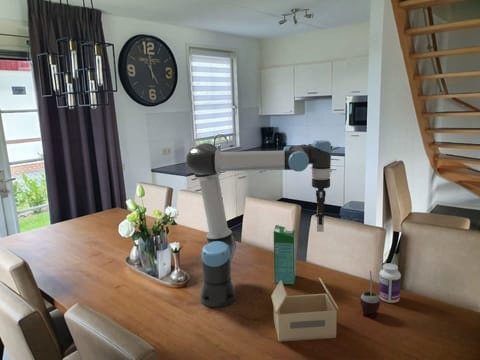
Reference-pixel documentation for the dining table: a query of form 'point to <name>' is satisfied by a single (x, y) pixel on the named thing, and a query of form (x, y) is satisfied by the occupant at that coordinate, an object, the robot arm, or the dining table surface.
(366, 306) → the mate gourd
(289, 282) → the milk carton
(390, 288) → the pill bottle
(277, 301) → the flap left
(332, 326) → the carton
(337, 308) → the flap right
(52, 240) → the dining table surface
